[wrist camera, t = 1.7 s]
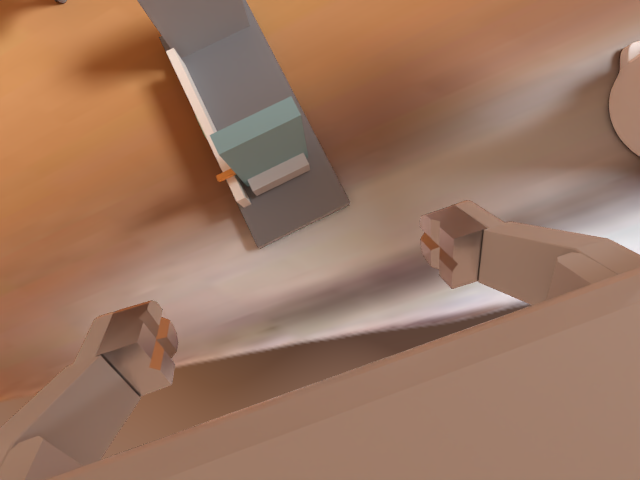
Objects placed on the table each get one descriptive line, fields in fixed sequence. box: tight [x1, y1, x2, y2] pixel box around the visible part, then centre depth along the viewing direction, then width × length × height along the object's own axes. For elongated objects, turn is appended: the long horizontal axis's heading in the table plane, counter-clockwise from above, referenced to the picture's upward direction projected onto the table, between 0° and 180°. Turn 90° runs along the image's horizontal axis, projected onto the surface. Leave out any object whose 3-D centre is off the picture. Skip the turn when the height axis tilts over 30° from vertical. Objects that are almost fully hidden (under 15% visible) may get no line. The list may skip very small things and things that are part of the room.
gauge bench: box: [137, 0, 350, 249], centre depth 35 cm, size 12×30×12 cm, turn 26°
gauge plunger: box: [210, 96, 310, 196], centre depth 33 cm, size 10×5×10 cm, turn 116°
